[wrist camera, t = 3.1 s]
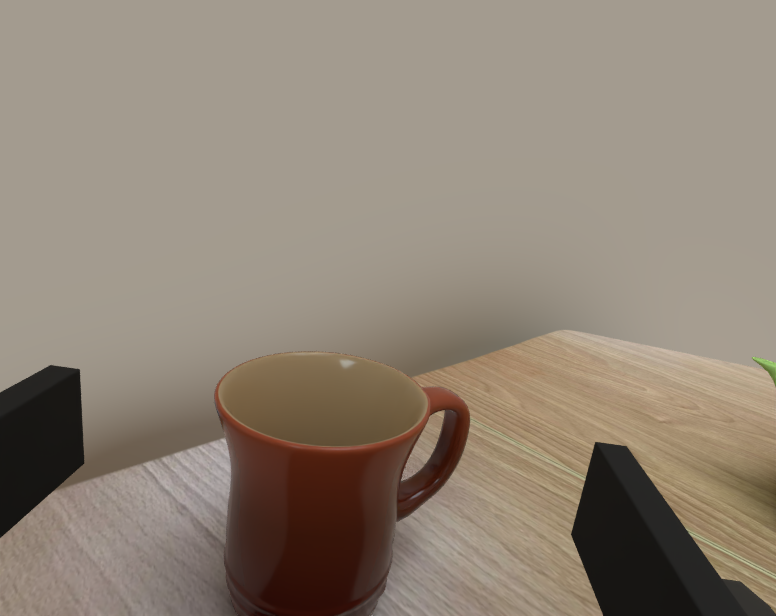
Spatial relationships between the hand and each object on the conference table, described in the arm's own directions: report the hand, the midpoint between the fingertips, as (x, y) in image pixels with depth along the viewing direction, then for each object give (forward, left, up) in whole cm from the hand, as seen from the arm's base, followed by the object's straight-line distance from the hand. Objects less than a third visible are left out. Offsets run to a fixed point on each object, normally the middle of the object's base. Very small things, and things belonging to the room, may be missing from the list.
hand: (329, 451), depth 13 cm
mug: (0, +10, -14) cm, 17 cm away
